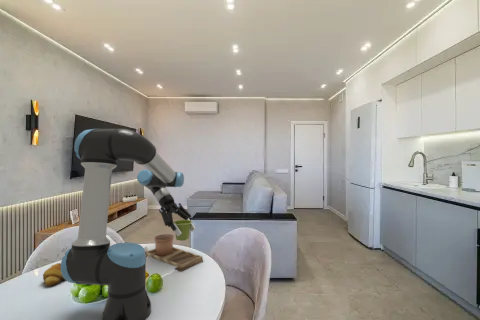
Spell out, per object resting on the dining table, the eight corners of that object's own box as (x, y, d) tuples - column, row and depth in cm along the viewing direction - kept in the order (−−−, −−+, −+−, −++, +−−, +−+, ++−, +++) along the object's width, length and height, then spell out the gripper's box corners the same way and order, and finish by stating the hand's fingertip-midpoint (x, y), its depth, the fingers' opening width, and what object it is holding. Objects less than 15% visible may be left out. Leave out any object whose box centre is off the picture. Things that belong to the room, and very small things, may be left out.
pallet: (202, 261, 129) (202, 256, 129) (180, 271, 118) (180, 266, 118) (166, 249, 147) (166, 244, 147) (144, 256, 136) (144, 252, 136)
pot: (177, 252, 138) (177, 236, 138) (162, 258, 130) (161, 241, 130) (166, 248, 144) (166, 233, 144) (150, 254, 136) (150, 237, 136)
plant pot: (171, 237, 131) (171, 221, 130) (189, 235, 134) (189, 219, 134) (174, 243, 122) (174, 225, 122) (193, 240, 126) (193, 223, 126)
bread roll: (56, 288, 103) (56, 269, 103) (33, 288, 104) (33, 268, 104) (77, 274, 116) (77, 256, 116) (57, 273, 117) (57, 256, 116)
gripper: (176, 199, 145) (197, 231, 137) (144, 206, 127) (166, 243, 119) (182, 191, 143) (204, 222, 135) (151, 196, 124) (174, 233, 116)
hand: (186, 232), depth 127 cm, fingers closed on plant pot, 9 cm apart
